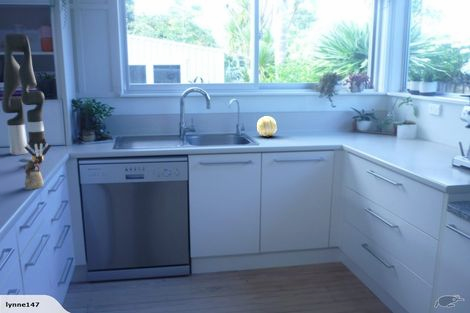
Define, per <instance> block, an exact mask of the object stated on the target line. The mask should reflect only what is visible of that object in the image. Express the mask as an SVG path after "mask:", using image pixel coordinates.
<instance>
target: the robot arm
mask: <svg viewBox="0 0 470 313" xmlns="http://www.w3.org/2000/svg"><path fill="white" fill-rule="evenodd" d="M3 40H4V41H3V42H4V43H3V45H4V47H3V49H4V68H3V69H4V70H3V90H2V91H3V92H2V99H1V100H2V101H1V109H2V111H3V112H4V113H6V114H16V115H15V116H14V117H12V118H9V119H8V120H6V125H7V132H8V134H7V135H8V145H9V152H10V155H12V156H13V155H14V156H19V155H26V154H28V153H29V154H30V155H31V157H32V156H35V157H36V159H38V160H39V161H38V164H39V165H41V164H42V163H43V161H42V156H43V157H44V156H45V155H46V154H47V153H48V151H49V150H50V148H51V146H52V144H50V143H48V142H47V140H46V133H45V125H44V121H43V120H44V119H43V110H44V108H43V107H44V102H45V95H44V93H43V92H42V91H41V90H32V89H35V88H36V87H37V85H38V84H37V80H36V76H35V72H34V69H33V60H32V59H33V58H32V52H31V51H32V50H31V46H30V41H29V38H28V36H27V34H26V33H6V34H5V36H4V38H3ZM13 53H23V60H22V62H21V64H19V63H18V61H16V58H15V57H14V56H13ZM20 86H21V94H20V95H21V96H12V95H13V94H14V93H15V92H16V91H17V90H18V89H20ZM24 105H25V106H34V105H35V107H34V108H33V109H29V110H27V111H26V117H27V118H26V119H27V130H26V120H25V106H24ZM27 135H28V139H27ZM44 147H45V148H44ZM31 149H32V150H33V151H34V152H33V151H32V150H31Z"/></svg>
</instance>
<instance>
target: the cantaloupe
mask: <svg viewBox="0 0 470 313" xmlns="http://www.w3.org/2000/svg"><path fill="white" fill-rule="evenodd" d="M277 124H278V123H277V122H276V120H275V119H274V118H273V117H271V116H266V115H263V117H261V118H259V119H258V121H257V124H256V129H257V133H258V134H260V135H261V136H263V137H265V138H266V137H271V136H273V135H274V134H275V133H276V132H277V129H278V125H277Z"/></svg>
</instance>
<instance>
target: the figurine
mask: <svg viewBox="0 0 470 313" xmlns="http://www.w3.org/2000/svg"><path fill="white" fill-rule="evenodd" d="M38 161H39V160H38V159H36V160H35V161H34V160H32V159H31V160H29V161H28V162H26V163H25V166H24V168H23V169H24V170H25V171H24V173H25V180H24V182H25V183H24V188H25V189H26V190H36V189H40V188H43V187H44V178H43V176H42V173H41V171H40V170H41V166H40V165H41V164H38ZM36 167H37V168H36Z"/></svg>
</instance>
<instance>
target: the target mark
mask: <svg viewBox="0 0 470 313" xmlns="http://www.w3.org/2000/svg"><path fill="white" fill-rule="evenodd" d="M31 159H32V156H27V157H23V158H21V159H19V161H20V162H22V163H23V162H24V163H25V162H26V163H27V162H28V161H29V160H31ZM44 159H45V158H44V157H43V160H44Z"/></svg>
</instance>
